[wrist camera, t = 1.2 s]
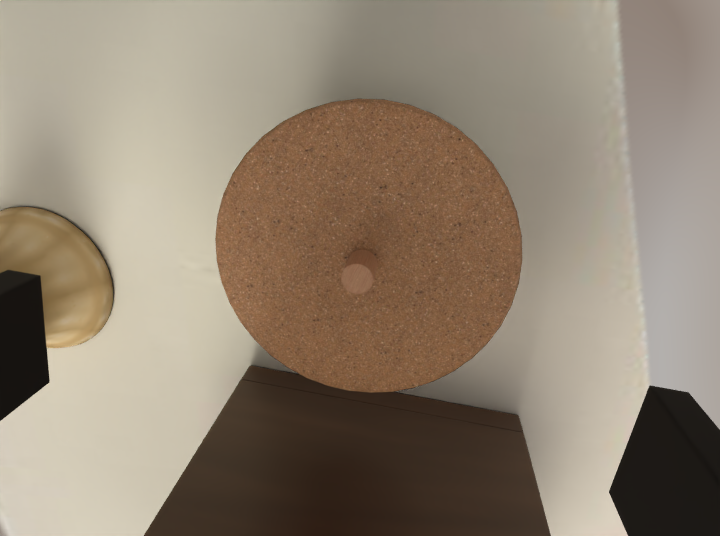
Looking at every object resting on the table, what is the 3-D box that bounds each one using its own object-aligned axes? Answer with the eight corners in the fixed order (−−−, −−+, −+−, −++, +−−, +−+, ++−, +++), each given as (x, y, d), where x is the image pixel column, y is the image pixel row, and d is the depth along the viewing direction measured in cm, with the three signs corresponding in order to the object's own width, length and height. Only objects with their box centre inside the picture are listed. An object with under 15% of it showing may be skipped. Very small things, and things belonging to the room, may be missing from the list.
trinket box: (539, 155, 24) (605, 202, 15) (431, 343, 27) (432, 467, 19) (323, 51, 23) (259, 35, 14) (244, 256, 27) (155, 342, 18)
